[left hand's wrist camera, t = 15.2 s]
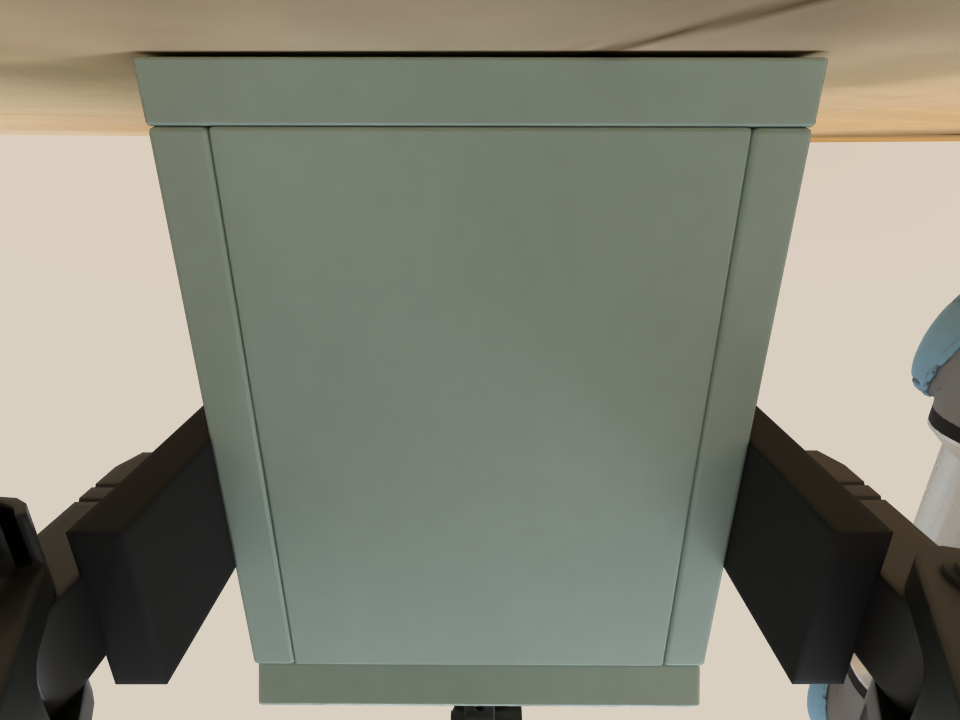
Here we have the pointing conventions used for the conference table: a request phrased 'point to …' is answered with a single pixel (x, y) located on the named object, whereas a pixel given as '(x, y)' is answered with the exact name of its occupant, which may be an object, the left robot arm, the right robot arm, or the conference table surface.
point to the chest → (480, 339)
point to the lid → (479, 685)
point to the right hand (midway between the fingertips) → (480, 563)
